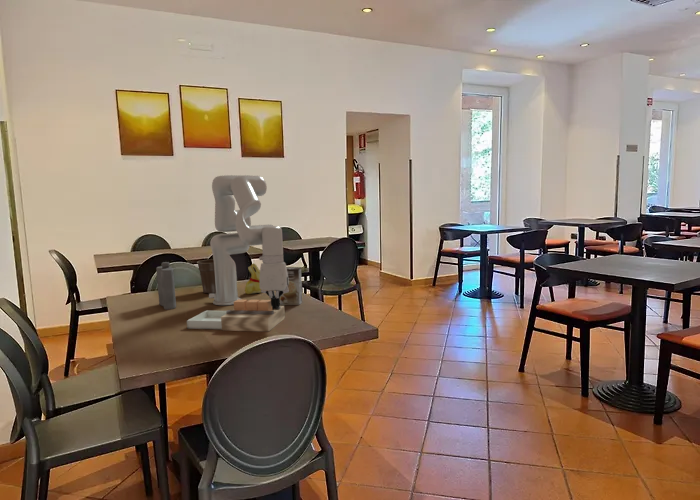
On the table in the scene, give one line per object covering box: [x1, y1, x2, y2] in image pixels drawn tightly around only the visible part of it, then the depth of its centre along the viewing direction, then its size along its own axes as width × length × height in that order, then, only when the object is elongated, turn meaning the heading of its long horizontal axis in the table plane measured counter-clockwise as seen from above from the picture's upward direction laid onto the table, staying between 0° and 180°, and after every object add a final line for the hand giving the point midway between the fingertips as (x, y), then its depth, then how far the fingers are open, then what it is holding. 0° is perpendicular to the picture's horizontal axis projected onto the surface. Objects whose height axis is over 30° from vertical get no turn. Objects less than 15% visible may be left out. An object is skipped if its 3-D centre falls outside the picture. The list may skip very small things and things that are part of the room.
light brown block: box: [246, 299, 261, 311], centre depth 180 cm, size 4×4×4 cm
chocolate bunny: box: [244, 263, 262, 295], centre depth 239 cm, size 7×11×15 cm, turn 107°
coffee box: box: [280, 266, 303, 306], centre depth 213 cm, size 9×6×16 cm
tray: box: [186, 310, 227, 330], centre depth 184 cm, size 15×15×3 cm
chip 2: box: [258, 299, 272, 311], centre depth 180 cm, size 4×4×4 cm
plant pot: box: [196, 258, 216, 295], centre depth 245 cm, size 16×16×16 cm
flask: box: [155, 261, 177, 311], centre depth 215 cm, size 15×6×20 cm, turn 33°
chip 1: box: [233, 299, 249, 311], centre depth 181 cm, size 4×4×4 cm
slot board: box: [221, 305, 286, 332], centre depth 181 cm, size 18×18×6 cm
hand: (275, 307), depth 179 cm, fingers closed
